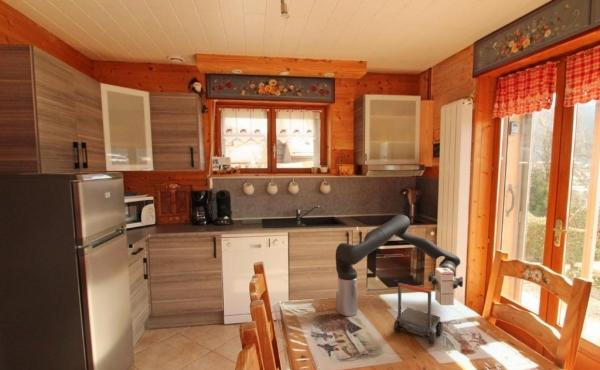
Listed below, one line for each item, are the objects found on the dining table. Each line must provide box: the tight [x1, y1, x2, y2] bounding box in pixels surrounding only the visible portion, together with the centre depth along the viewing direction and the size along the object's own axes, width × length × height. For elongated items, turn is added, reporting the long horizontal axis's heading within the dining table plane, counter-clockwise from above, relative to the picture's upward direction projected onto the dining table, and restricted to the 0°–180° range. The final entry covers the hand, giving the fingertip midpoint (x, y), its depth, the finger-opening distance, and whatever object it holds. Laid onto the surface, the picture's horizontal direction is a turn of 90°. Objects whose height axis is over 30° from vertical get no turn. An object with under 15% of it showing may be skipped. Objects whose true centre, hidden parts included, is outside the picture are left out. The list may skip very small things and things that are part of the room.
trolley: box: [393, 282, 444, 346], centre depth 125 cm, size 15×15×21 cm
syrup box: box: [434, 267, 455, 306], centre depth 129 cm, size 6×6×14 cm
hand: (444, 284), depth 127 cm, fingers closed on syrup box, 7 cm apart
